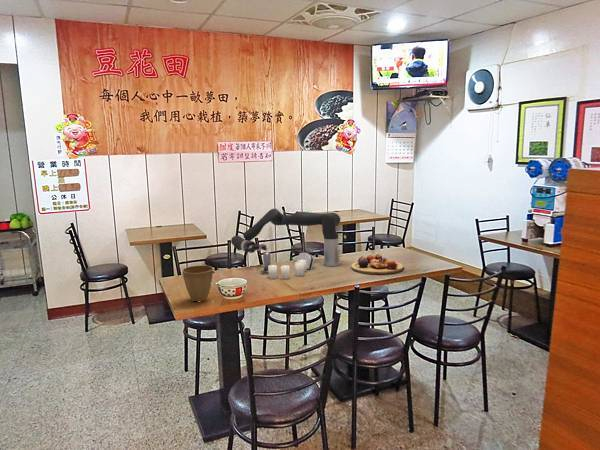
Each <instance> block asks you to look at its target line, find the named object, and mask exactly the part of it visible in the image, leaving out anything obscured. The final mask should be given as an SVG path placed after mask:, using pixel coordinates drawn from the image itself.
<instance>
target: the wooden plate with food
mask: <svg viewBox="0 0 600 450" xmlns="http://www.w3.org/2000/svg"><path fill="white" fill-rule="evenodd" d="M404 268H405V267H404V265H403V264H402V263H401V262H398V261H394V260H390V259H387V258H386V257H383V255H381V254H379V253H377V254H376V255H370V254H369V255H367V256H364V255H361V256H360V257H359V258H358V260H357V261H356V262H353V263H352V264H351V265H350V269H351V270H352V271H354V272H356V273H361V274H366V275H367V274H368V275H391V274H396V273H400V272H402V271H403V270H404Z"/></svg>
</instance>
